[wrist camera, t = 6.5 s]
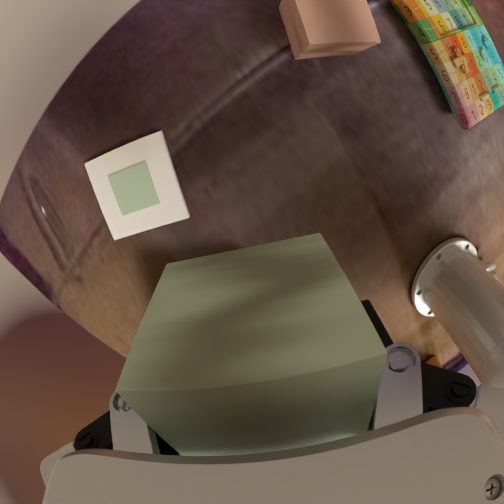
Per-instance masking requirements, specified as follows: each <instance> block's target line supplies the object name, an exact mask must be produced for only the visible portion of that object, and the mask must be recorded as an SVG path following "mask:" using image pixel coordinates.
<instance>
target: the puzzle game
mask: <svg viewBox="0 0 504 504" xmlns="http://www.w3.org/2000/svg"><path fill="white" fill-rule="evenodd" d="M389 1H390V2H391V4H392V5H393V6H394V8H395V9H396V11H397V12H398V13H399V15H400V16H401V18H402V19H403V21H404V22H405V23H406V25H407V26H408V28H409V30H410V31H411V33H412V34H413V36H414V37H415V39H416V41H417V42H418V44H419V46H420V47H421V49H422V51H423V53H424V54H425V56H426V58H427V60H428V62H429V64H430V65H431V67H432V69H433V71H434V73H435V75H436V77H437V79H438V81H439V83H440V85H441V88H442V90H443V92H444V94H445V96H446V99H447V101H448V103H449V106H450V108H451V111H452V113H453V115H454V117H455V119H456V121H457V122H458V123H459V125H460V126H461V128H463V129H468V130H469V129H471V128H472V127H473V126H475V125H476V124H478V123H479V122H480V121H482V120H483V119H485V118H486V117H488V116H489V115H490V114H492V113H493V112H495V111H496V110H497V109H499V108H500V107H502V106H503V105H504V67H503V64H502V62H501V60H500V57H499V55H498V53H497V51H496V48H495V46H494V44H493V42H492V40H491V38H490V36H489V34H488V32H487V30H486V28H485V27H484V25H483V23H482V21H481V19H480V18H479V16H478V14H477V13H476V11H475V9H474V8H473V6H472V4H471V3H470V1H469V0H389Z"/></svg>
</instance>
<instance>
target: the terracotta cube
mask: <svg viewBox="0 0 504 504" xmlns="http://www.w3.org/2000/svg"><path fill="white" fill-rule="evenodd" d="M279 11H280V14H281V17H282V20H283V23H284V26H285V29H286V32H287V35H288V38H289V42H290V45H291V48H292V52H293V55H294V59H295V60H298V59H306V58H316V57H327V56H341V55H355V54H357V53H359V52H361V51H363V50H365V49H367V48H370V47H372V46H374V45H376V44H379V43H381V41H380V37H379V34H378V31H377V28H376V25H375V22H374V19H373V16H372V13H371V11H370V8H369V5H368V3H367V0H281V3H280V5H279Z"/></svg>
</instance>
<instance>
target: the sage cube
mask: <svg viewBox="0 0 504 504" xmlns="http://www.w3.org/2000/svg"><path fill="white" fill-rule="evenodd" d="M386 356H387V351H386V349H385V347H384V345H383V343H382V341H381V339H380V337H379V335H378V333H377V332H376V330H375V328H374V326H373V324H372V322H371V320H370V318H369V316H368V315H367V313H366V311H365V309H364V307H363V305H362V303H361V302H360V300H359V298H358V296H357V294H356V293H355V291H354V289H353V287H352V286H351V284H350V282H349V280H348V279H347V277H346V275H345V273H344V272H343V270H342V268H341V267H340V265H339V263H338V261H337V260H336V258H335V256H334V255H333V253H332V251H331V250H330V248H329V247H328V245H327V243H326V242H325V240H324V238H323V237H322V235H321V234H320V233H316V234H311V235H306V236H301V237H296V238H291V239H286V240H281V241H276V242H271V243H266V244H261V245H256V246H252V247H247V248H242V249H237V250H232V251H227V252H222V253H217V254H212V255H207V256H202V257H198V258H193V259H188V260H183V261H178V262H173V263H168V264H167V265H166V267H165V269H164V271H163V273H162V275H161V278H160V280H159V282H158V284H157V287H156V289H155V291H154V293H153V296H152V298H151V300H150V303H149V305H148V307H147V310H146V312H145V314H144V317H143V319H142V322H141V324H140V326H139V329H138V331H137V334H136V336H135V339H134V341H133V344H132V346H131V349H130V352H129V354H128V357H127V360H126V363H125V365H124V368H123V370H122V373H121V376H120V379H119V382H118V384H117V387H116V392H117V393H118V394H119V395H120V396H121V397H122V398H123V399H124V401H125V402H126V403H127V404H128V405H129V406H130V407H131V408H132V409H133V410H134V411H135V412H136V413H137V414H138V415H139V416H140V417H141V418H142V419H143V420H144V421H145V422H146V423H147V424H148V425H149V426H150V427H151V428H152V429H153V430H154V431H155V432H156V433H157V434H158V435H159V436H160V437H161V438H163V439H164V440H165V441H166V442H167V443H168V444H169V445H170V446H171V447H173V448H174V449H175V450H176V451H177V452H178V453H180V454H181V455H182V456H226V455H243V454H255V453H265V452H273V451H281V450H288V449H294V448H300V447H306V446H311V445H316V444H321V443H326V442H330V441H334V440H338V439H342V438H346V437H350V436H354V435H357V434H361V433H365V432H367V429H368V425H369V422H370V419H371V416H372V412H373V409H374V405H375V402H376V398H377V394H378V391H379V387H380V383H381V378H382V374H383V370H384V365H385V361H386Z"/></svg>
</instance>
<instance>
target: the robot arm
mask: <svg viewBox="0 0 504 504" xmlns="http://www.w3.org/2000/svg"><path fill="white" fill-rule="evenodd" d="M494 269H495V263H494V261H490V262H488V263H486V264H484V263H483V262H482V261H480V260H479V259H478V254H477V250H476V248H475V247H474V245H473V244H472V243H470V242H469V241H468V240H466V239H464V238H460V237H459V238H452V239H449V240H447V241H445V242H443V243H441V244H440V245H439V246H437V247H436V248H435V249H434V250H433V251H432V252H431V253H430V254H429V255H428V256H427V257H426V259H425V260H424V261H423V263H422V264H421V266H420V268H419V269H418V271H417V273H416V276H415V278H414V281H413V284H412V290H411V299H412V302H413V305H414V306H415V308H416V309H417V310H418V312H419V313H420V314H422V315H424V316H435V317H436V318H437V319H438V321H439V322H440V323H441V325H442V326H443V327H444V329H445V330H446V331H447V333H448V334H449V336H450V337H451V338H452V340H453V341H454V343H455V344H456V346H457V347H458V348H459V350H460V351H461V353H462V354H463V356H464V357H465V359H466V360H467V362H468V363H469V365H470V366H471V368H472V370H473V371H474V373H475V374H476V376H477V377H478V379H479V381H480V382H481V385H480V386H477V385H476V384H475V383H474V382H473V380H472V379H471V378H470V377H469V376H467V375H464V374H461V373H458V372H454V371H451V370H447V369H444V368H441V367H437V366H434V365H431V364H428V363H425V362H421V361H420V356H419V353H418V352H417V350H416V349H415V348H414V347H412V346H411V345H408V344H404V343H396V344H393V342H392V340H391V338H390V336H389V334H388V333H387V331H386V329H385V327H384V325H383V324H382V322H381V320H380V318H379V316H378V315H377V313H376V311H375V310H374V308H373V306H372V304H371V303H370V301H369V300H364V301H360V302H361V303H362V305H363V307H364V309H365V311H366V313H367V315H368V316H369V318H370V320H371V322H372V324H373V326H374V328H375V330H376V332H377V333H378V335H379V337H380V339H381V341H382V343H383V345H384V347H385V349H386V351H387V356H386V361H385V365H384V370H383V374H382V378H381V383H380V387H379V391H378V394H377V398H376V402H375V405H374V409H373V412H372V416H371V419H370V422H369V425H368V429H367V432H365V433H361V434H357V435H354V436H350V437H346V438H342V439H338V440H334V441H330V442H326V443H321V444H316V445H311V446H306V447H300V448H294V449H288V450H281V451H273V452H265V453H255V454H243V455H226V456H182V455H181V454H180V453H178V452H177V451H176V450H175V449H174V448H173V447H171V446H170V445H169V444H168V443H167V442H166V441H165V440H164V439H163V438H161V437H160V436H159V435H158V434H157V433H156V432H155V431H154V430H153V429H152V428H151V427H150V426H149V425H148V424H147V423H146V422H145V421H144V420H143V419H142V418H141V417H140V416H139V415H138V414H137V413H136V412H135V411H134V410H133V409H132V408H131V407H130V406H129V405H128V404H127V403H126V402H125V401H124V399H123V398H122V397H121V396H120V395H119V394H118V393H117V392H116V391H115V392H114V393H113V395H112V396H111V399H110V404H109V405H110V410H109V411H108V412H107V413H105V414H104V415H102V416H101V417H99V418H98V419H97V420H95V421H94V422H92V423H91V424H89V425H88V426H87V427H85V428H83V429H82V430H81V431H80V432H78V434H77V436H76V438H75V443H72V442H70V443H68V444H67V445H65V446H64V447H62V448H60V449H59V450H57V451H56V452H54V453H52V454H51V455H49V456H47V457H46V458H45V459H44V460H43V461H42V463H41V466H40V471H41V474H42V478H43V481H44V483H45V486H46V492H45V495H44V500H43V504H504V286H503V285H502V284H501V283H500V282H499V281H498V280H497V274H496V272H495V271H492V270H494ZM489 271H491V272H489Z"/></svg>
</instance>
